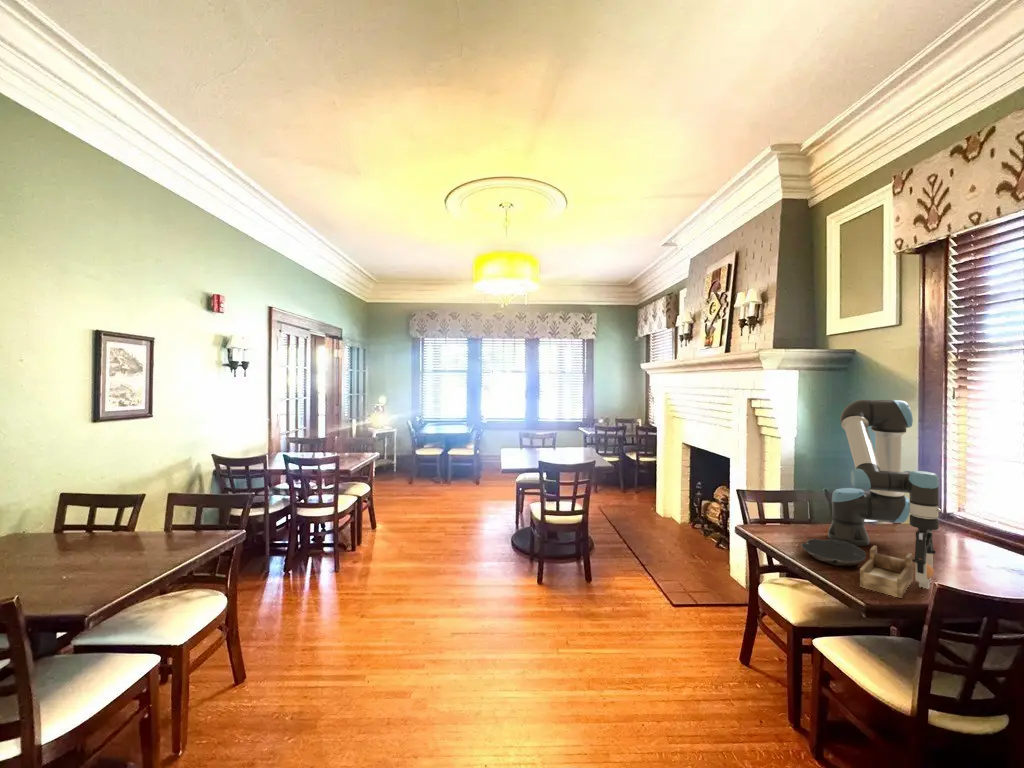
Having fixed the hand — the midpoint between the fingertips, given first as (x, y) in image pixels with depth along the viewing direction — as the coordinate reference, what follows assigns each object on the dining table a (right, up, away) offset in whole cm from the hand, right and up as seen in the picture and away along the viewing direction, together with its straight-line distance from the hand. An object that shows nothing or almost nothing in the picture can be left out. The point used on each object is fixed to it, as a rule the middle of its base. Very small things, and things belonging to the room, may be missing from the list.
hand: (924, 576), depth 154 cm
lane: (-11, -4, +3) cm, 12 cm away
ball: (0, +2, 0) cm, 2 cm away
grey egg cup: (0, -4, 0) cm, 4 cm away
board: (-14, -4, +25) cm, 29 cm away
